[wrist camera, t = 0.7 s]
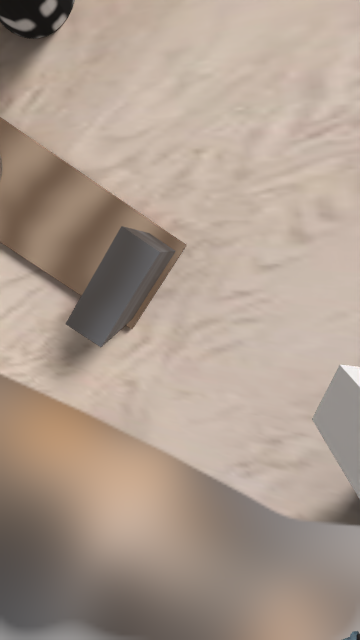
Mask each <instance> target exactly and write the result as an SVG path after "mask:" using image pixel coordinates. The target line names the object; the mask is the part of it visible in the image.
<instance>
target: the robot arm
mask: <svg viewBox="0 0 360 640" xmlns="http://www.w3.org/2000/svg"><path fill="white" fill-rule="evenodd" d="M312 420H313V422H314V423H315V425H316V427H317V428H318V430H319V432H320V433H321V435H322V437H323V438H324V440H325V442H326V443H327V445H328V447H329V449H330V450H331V452H332V454H333V455H334V457H335V459H336V460H337V462H338V464H339V465H340V467H341V469H342V470H343V472H344V474H345V476H346V477H347V479H348V481H349V482H350V484H351V486H352V487H353V489H354V491H355V492H356V494H357V496H358V497H359V499H360V368H359V367H356V366H347V365H339V367H338V369H337V371H336V373H335V375H334V377H333V379H332V381H331V383H330V385H329V387H328V389H327V391H326V393H325V395H324V397H323V399H322V400H321V402H320V404H319V406H318V408H317V410H316V412H315V414H314V416H313V418H312ZM343 640H360V634H359V632H358V631H354V632H352V634H351V635H350V637H348V638H345V639H343Z"/></svg>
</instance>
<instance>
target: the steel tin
mask: <svg viewBox="0 0 360 640" xmlns="http://www.w3.org/2000/svg"><path fill="white" fill-rule="evenodd" d="M1 176H2V160H1V156H0V180H1Z"/></svg>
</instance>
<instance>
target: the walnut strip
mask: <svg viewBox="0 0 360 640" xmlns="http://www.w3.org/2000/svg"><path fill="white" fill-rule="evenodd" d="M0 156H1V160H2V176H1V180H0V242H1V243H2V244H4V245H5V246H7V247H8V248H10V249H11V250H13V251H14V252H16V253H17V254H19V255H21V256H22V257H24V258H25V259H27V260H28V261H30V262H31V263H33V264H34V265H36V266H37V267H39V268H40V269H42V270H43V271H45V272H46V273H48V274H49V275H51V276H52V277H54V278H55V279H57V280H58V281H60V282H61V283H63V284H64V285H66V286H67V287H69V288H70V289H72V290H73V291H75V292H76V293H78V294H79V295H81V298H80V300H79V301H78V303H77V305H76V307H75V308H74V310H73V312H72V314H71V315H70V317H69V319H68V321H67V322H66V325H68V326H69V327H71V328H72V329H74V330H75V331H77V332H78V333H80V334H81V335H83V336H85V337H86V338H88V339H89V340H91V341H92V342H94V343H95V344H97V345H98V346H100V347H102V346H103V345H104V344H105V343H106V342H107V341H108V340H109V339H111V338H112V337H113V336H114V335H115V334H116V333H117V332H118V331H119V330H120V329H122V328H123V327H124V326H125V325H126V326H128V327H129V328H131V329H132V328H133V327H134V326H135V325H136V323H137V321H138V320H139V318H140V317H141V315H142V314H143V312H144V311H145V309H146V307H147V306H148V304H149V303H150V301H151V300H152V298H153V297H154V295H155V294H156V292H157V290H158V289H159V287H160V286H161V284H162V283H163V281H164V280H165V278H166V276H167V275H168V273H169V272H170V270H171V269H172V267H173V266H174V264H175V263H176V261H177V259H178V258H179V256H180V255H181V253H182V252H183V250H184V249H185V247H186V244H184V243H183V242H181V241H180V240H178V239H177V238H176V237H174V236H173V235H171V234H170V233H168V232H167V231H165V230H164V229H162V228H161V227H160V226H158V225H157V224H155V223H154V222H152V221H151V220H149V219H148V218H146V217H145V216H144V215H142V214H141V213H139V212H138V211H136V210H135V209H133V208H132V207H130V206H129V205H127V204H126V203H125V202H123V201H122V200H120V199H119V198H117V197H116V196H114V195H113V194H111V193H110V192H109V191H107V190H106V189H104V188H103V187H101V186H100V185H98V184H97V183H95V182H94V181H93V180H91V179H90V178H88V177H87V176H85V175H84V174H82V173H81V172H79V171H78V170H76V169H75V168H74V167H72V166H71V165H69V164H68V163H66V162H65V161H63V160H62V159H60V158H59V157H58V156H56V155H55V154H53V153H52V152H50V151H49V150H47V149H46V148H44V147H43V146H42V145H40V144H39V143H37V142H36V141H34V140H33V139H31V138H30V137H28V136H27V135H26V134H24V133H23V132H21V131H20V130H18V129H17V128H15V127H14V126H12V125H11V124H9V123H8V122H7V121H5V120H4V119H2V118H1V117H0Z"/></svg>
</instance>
